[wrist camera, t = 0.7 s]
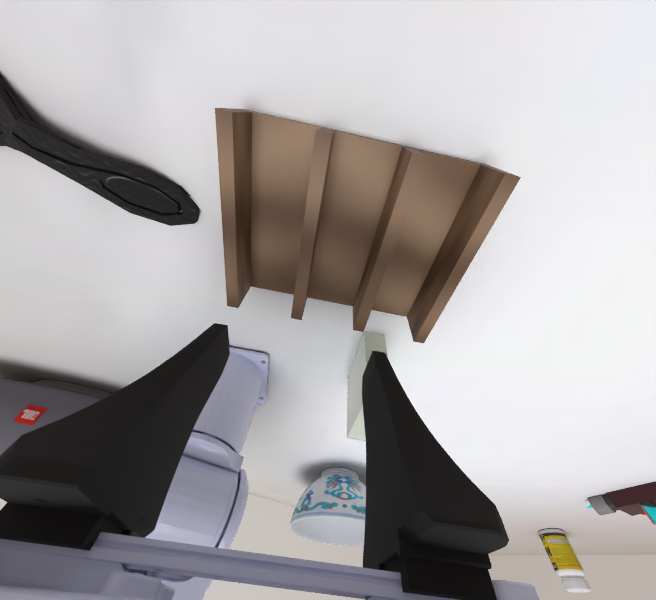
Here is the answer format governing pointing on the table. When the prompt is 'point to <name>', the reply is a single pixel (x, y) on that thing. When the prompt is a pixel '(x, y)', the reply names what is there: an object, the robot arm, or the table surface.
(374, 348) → the pale green box
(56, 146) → the hairbrush
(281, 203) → the dish rack
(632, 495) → the toy gun
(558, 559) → the supplement bottle
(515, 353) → the table surface
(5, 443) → the bluetooth speaker
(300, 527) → the chinaware
